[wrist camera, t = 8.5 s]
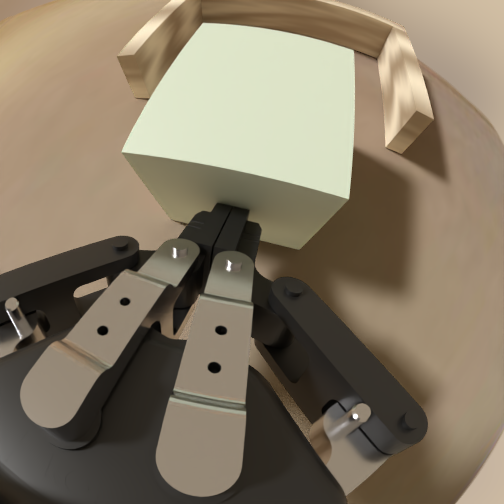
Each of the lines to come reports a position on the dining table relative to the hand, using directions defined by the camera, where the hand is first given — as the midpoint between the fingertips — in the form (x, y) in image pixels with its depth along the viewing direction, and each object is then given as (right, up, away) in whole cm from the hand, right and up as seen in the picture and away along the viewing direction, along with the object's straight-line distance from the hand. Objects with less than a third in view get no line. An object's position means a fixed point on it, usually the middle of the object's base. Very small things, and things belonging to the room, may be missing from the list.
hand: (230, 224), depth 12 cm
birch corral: (+4, +16, +7) cm, 18 cm away
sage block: (+1, +4, +5) cm, 6 cm away
